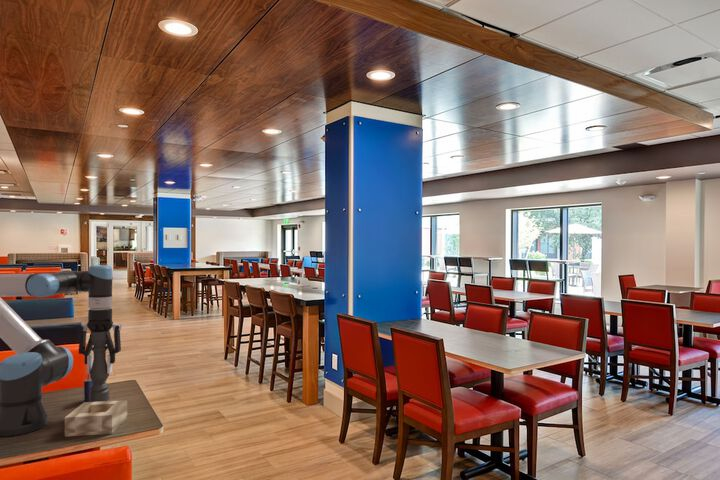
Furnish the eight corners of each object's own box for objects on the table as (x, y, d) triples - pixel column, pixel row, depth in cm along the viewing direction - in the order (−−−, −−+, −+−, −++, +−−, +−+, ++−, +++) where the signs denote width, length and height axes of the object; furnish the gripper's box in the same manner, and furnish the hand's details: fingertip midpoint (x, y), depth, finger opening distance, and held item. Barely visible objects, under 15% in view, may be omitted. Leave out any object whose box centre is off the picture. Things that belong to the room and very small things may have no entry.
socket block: (64, 436, 147) (64, 417, 147) (84, 419, 161) (84, 402, 161) (112, 433, 149) (112, 415, 149) (127, 417, 163) (127, 400, 163)
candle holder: (91, 398, 169) (91, 329, 169) (110, 396, 171) (110, 328, 171) (87, 404, 163) (88, 333, 163) (107, 402, 165) (108, 332, 165)
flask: (95, 396, 184) (95, 369, 184) (103, 396, 185) (103, 369, 184) (82, 405, 175) (82, 376, 175) (90, 405, 175) (90, 376, 175)
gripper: (66, 310, 162) (66, 376, 162) (124, 309, 165) (124, 374, 165) (76, 307, 170) (76, 370, 170) (131, 306, 172) (131, 369, 172)
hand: (99, 372), depth 167 cm, fingers closed on candle holder, 6 cm apart
